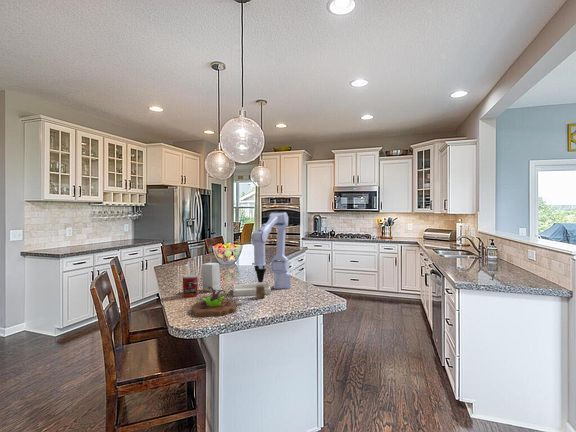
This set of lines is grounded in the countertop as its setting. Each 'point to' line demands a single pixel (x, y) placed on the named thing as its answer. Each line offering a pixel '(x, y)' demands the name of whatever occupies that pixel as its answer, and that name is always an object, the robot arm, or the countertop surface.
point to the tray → (249, 289)
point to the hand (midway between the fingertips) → (260, 280)
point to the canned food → (190, 285)
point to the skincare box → (211, 276)
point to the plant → (213, 306)
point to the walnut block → (260, 291)
